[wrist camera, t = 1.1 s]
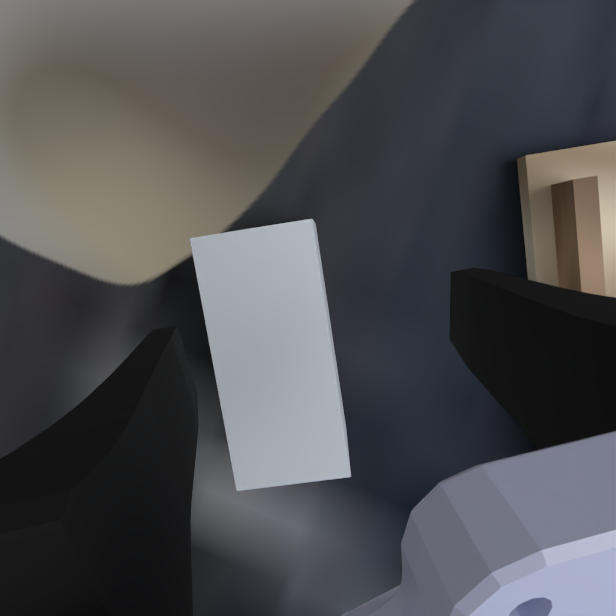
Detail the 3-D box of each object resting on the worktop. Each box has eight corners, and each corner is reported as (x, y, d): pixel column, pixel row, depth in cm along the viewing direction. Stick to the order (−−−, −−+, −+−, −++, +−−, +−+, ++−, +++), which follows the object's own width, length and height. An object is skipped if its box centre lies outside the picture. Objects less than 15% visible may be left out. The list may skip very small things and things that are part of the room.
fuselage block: (346, 430, 25) (350, 476, 20) (254, 442, 25) (236, 490, 20) (315, 223, 24) (312, 218, 19) (218, 238, 24) (189, 238, 19)
